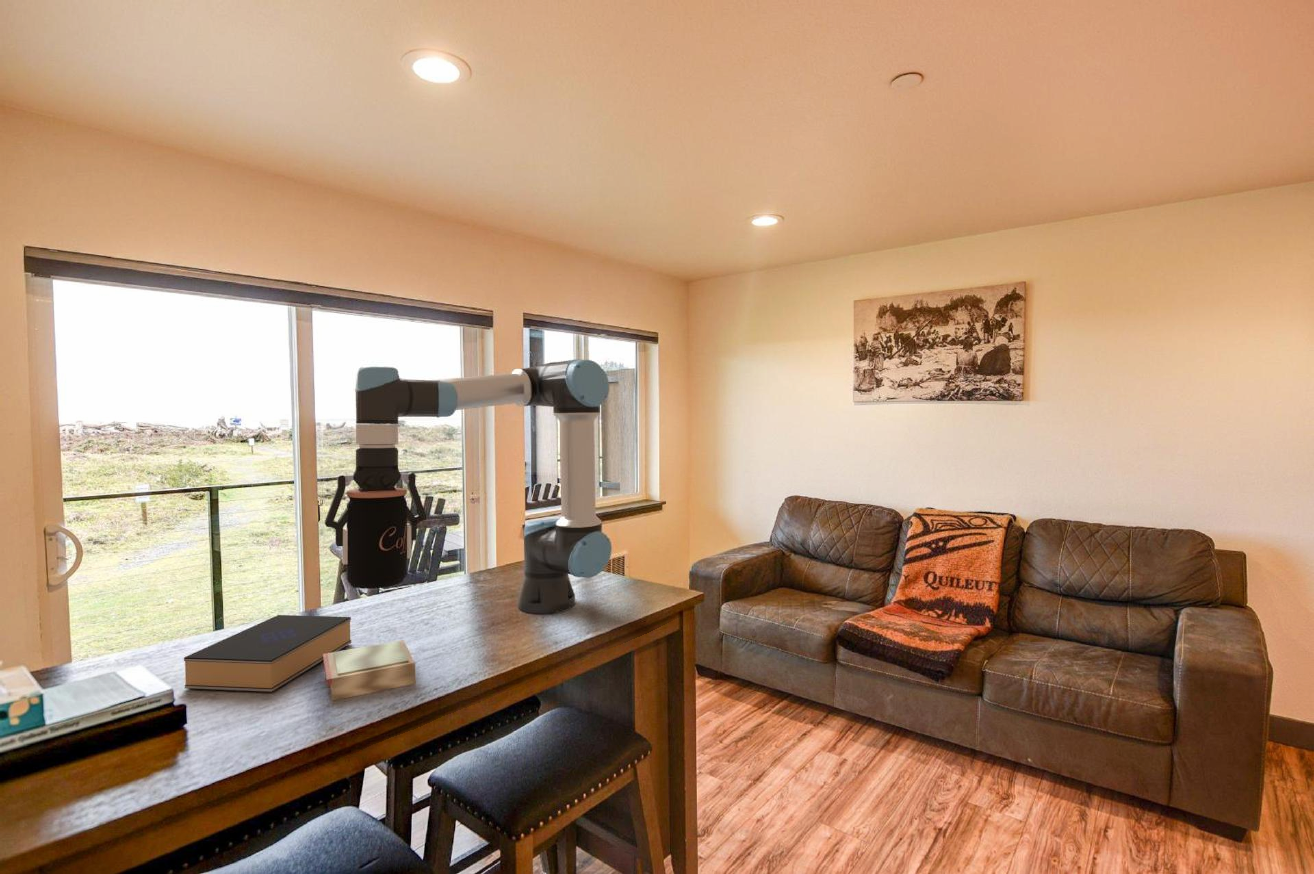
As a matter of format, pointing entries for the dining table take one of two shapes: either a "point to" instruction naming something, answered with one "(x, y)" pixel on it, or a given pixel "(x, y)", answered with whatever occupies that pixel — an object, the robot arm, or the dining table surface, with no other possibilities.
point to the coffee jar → (377, 538)
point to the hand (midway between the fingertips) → (377, 560)
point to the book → (267, 653)
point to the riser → (368, 669)
